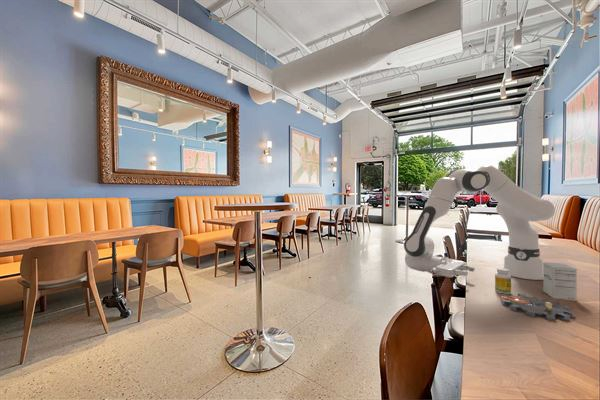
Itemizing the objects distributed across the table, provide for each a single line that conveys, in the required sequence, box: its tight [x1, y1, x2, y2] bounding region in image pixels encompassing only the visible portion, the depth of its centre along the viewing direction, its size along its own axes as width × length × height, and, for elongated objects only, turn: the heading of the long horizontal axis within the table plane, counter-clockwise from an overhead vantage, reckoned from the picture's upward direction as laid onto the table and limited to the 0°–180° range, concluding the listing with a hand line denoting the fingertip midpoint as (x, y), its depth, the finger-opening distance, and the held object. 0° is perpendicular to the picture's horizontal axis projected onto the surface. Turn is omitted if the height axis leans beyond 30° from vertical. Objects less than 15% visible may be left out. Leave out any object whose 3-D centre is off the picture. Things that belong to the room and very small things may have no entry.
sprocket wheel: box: [500, 293, 574, 322], centre depth 91 cm, size 19×19×4 cm
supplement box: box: [542, 261, 578, 302], centre depth 101 cm, size 7×7×13 cm
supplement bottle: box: [494, 267, 512, 295], centre depth 107 cm, size 5×5×10 cm
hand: (470, 271), depth 115 cm, fingers open, 8 cm apart
